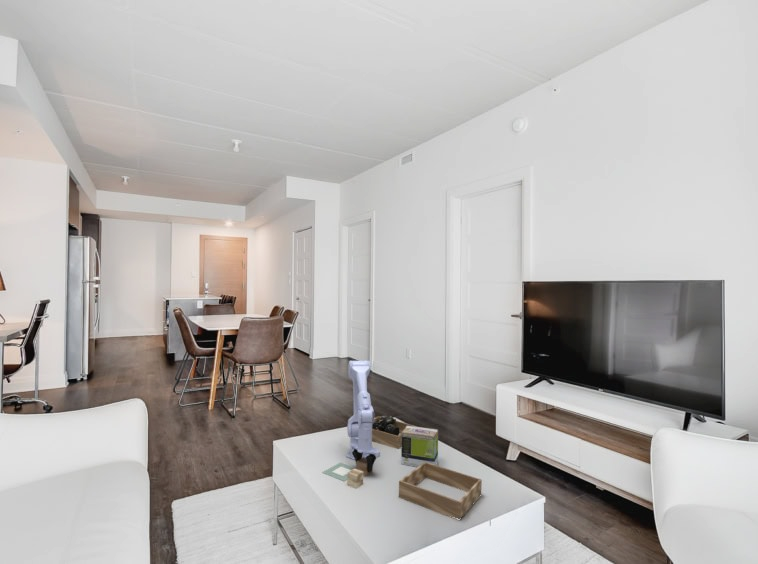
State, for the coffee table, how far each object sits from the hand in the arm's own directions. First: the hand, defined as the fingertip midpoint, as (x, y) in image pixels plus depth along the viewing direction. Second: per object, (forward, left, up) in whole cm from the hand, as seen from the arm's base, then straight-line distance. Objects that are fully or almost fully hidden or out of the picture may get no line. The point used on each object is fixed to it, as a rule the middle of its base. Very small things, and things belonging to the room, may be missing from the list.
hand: (364, 469), depth 167 cm
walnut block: (0, 0, -1) cm, 1 cm away
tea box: (-23, +14, -2) cm, 27 cm away
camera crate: (-39, -14, -1) cm, 41 cm away
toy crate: (-3, +34, -1) cm, 34 cm away
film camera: (-39, -14, -1) cm, 41 cm away
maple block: (+10, +3, -2) cm, 11 cm away
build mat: (+5, -8, -1) cm, 10 cm away
